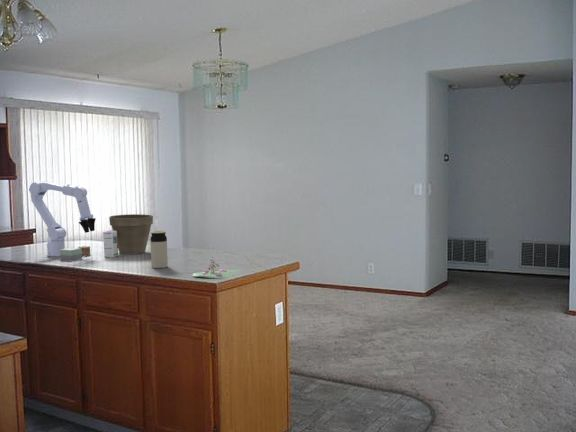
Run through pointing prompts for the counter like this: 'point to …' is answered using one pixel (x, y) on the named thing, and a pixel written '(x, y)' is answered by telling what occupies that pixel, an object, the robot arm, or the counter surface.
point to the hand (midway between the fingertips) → (89, 231)
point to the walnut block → (85, 250)
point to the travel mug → (159, 249)
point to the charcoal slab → (71, 257)
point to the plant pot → (131, 232)
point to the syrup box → (110, 243)
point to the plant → (215, 272)
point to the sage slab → (71, 251)
